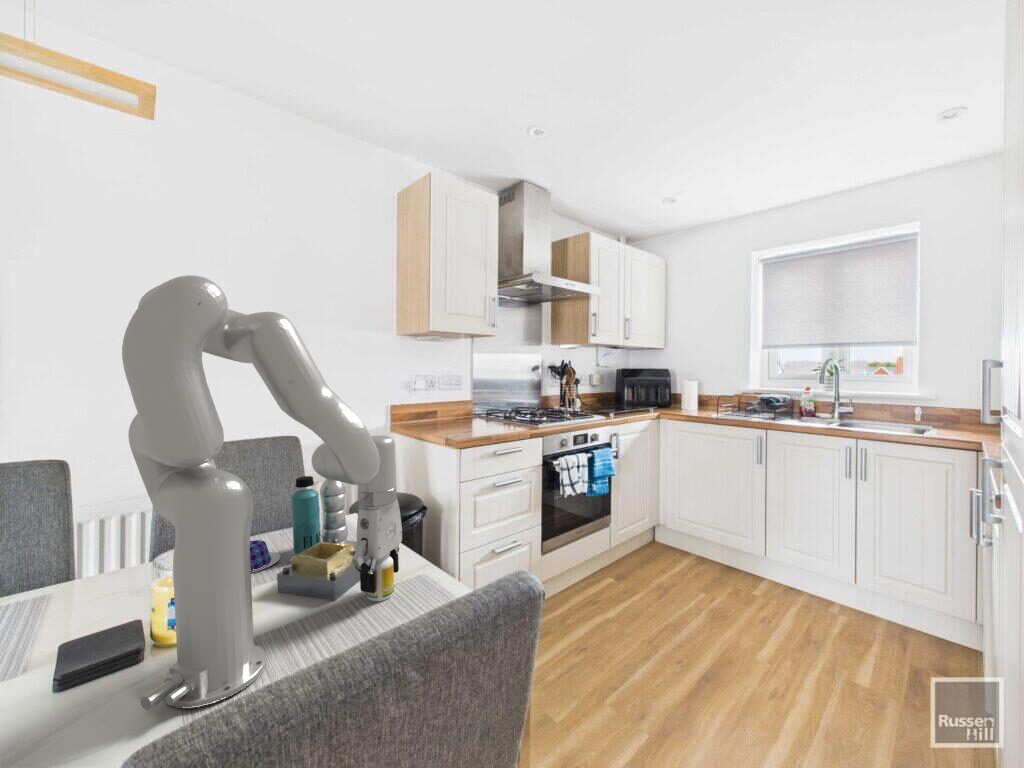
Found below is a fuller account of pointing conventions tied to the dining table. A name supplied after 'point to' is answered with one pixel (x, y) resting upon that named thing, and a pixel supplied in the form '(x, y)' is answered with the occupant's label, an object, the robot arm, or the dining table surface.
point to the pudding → (261, 555)
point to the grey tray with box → (321, 571)
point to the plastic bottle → (333, 511)
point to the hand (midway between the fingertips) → (380, 580)
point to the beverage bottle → (305, 515)
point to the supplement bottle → (383, 579)
